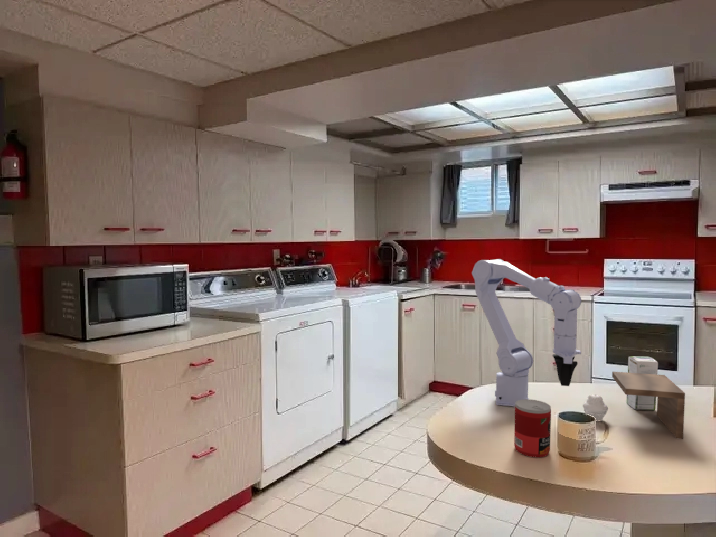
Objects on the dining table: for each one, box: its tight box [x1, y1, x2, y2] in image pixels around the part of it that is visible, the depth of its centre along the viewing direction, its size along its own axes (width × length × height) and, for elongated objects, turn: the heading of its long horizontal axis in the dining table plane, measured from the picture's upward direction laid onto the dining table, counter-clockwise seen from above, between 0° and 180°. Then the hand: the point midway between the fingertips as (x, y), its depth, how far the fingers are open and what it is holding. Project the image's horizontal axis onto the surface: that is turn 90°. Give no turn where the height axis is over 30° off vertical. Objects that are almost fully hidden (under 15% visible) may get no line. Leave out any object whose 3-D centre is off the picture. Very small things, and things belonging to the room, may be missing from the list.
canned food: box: [513, 398, 552, 459], centre depth 114 cm, size 8×8×11 cm
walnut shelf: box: [611, 371, 686, 440], centre depth 130 cm, size 13×16×12 cm
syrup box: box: [625, 355, 659, 411], centre depth 142 cm, size 6×6×14 cm
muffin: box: [582, 394, 609, 421], centre depth 133 cm, size 6×6×7 cm
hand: (564, 383), depth 135 cm, fingers open, 4 cm apart
